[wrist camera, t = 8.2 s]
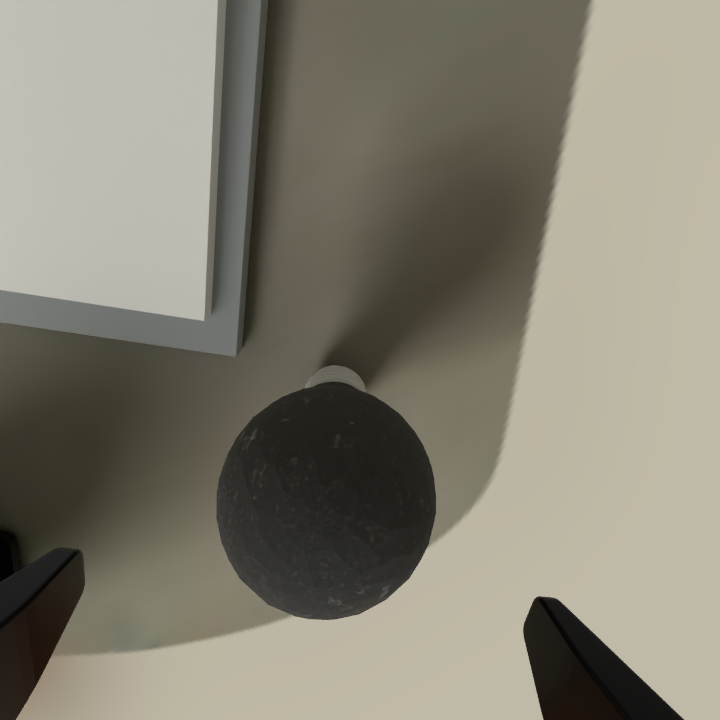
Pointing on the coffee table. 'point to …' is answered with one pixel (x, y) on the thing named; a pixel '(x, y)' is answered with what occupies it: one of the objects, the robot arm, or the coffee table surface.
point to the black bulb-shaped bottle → (326, 499)
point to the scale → (129, 167)
